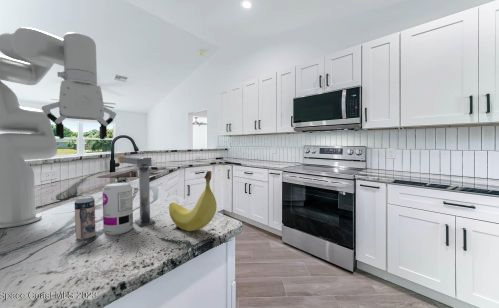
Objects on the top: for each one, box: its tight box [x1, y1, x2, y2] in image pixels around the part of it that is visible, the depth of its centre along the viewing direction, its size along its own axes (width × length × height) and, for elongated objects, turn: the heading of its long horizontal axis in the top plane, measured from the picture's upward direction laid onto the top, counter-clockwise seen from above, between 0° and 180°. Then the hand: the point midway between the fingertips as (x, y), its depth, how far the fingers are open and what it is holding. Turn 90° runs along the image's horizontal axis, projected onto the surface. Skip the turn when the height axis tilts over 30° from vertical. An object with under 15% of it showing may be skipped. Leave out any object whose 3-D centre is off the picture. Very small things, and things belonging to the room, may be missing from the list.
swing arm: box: [117, 154, 153, 168], centre depth 85 cm, size 27×5×3 cm, turn 47°
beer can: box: [74, 195, 97, 241], centre depth 66 cm, size 5×5×12 cm
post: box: [134, 166, 156, 227], centre depth 78 cm, size 5×5×20 cm
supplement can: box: [102, 181, 134, 236], centre depth 71 cm, size 8×8×15 cm
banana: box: [168, 170, 217, 232], centre depth 71 cm, size 23×6×20 cm, turn 50°
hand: (83, 138), depth 65 cm, fingers open, 9 cm apart
